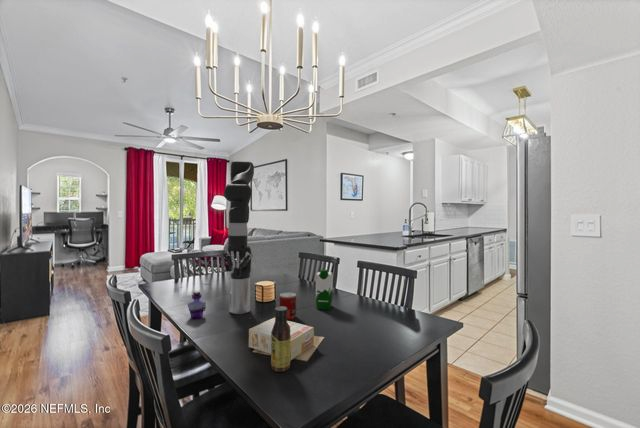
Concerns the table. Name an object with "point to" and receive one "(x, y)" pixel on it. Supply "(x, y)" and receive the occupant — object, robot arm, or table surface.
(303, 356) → the cork mat
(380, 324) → the table surface
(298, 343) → the coffeecake box
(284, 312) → the sauce bottle
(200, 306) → the potion bottle
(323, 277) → the milk carton
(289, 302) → the canned food
